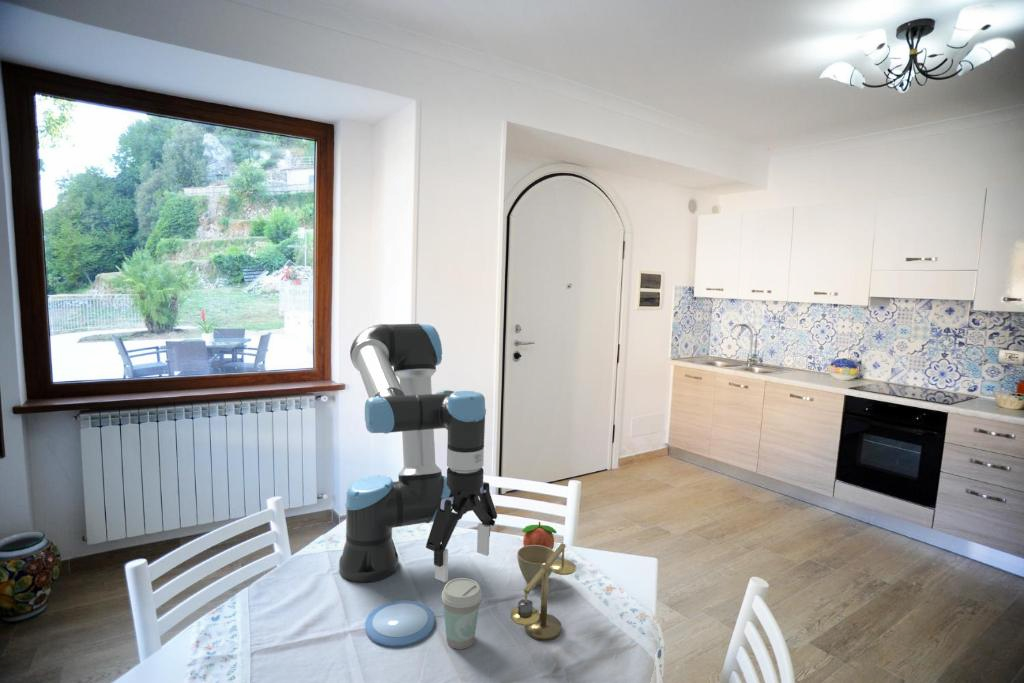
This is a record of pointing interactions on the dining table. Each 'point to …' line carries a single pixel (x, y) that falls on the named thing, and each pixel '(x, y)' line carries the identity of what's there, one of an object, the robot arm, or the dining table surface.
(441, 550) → the robot arm
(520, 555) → the flower pot
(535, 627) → the balance
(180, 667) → the dining table surface
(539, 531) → the fruit
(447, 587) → the coffee cup
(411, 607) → the dish
